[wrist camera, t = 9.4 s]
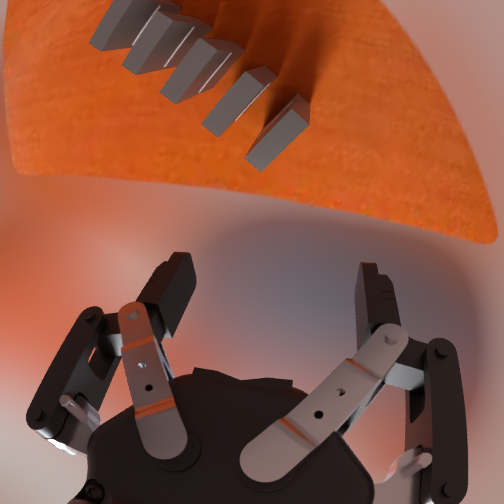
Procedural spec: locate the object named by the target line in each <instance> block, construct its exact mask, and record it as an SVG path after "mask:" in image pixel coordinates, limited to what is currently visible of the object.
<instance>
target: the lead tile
mask: <svg viewBox="0 0 504 504" xmlns="http://www.w3.org/2000/svg"><path fill="white" fill-rule="evenodd" d="M309 120H310V103H309V102H308V101H307V100H306V99H305V98H303V97H302V96H301V95H300V94H299V93H298V92H297V93H296V94H295V95H294V96H293V97H292V98H291V99H290V100H289V101H288V103H287V104H286V105H285V106H284V107H283V108H282V109H281V110H280V111H279V112H278V113H277V114H276V115H275V116H274V117H273V118H272V119H271V120H270V121H269V122H268V123H267V124H266V125H265V126H264V127H263V129H262V130H261V132H260V134H259V135H258V137H257V138H256V140H255V142H254V143H253V145H252V146H251V148H250V150H249V151H248V153H247V154H246V156H245V159H246V160H247V161H248V162H249V163H251V164H252V165H253V166H254V167H255V168H257V169H258V170H259V171H260V172H262V171H263V170H264V169H265V168H266V167H267V166H268V165H269V164H270V163H271V162H272V161H273V160H274V159H275V158H276V157H277V156H278V155H279V154H280V153H281V152H282V151H283V150H284V149H285V148H286V147H287V146H288V145H289V144H290V143H291V142H292V141H293V140H294V139H295V138H296V137H297V136H298V135H299V134H300V133H301V132H302V131H303V130H304V129H305V128H307V127H308V126H309Z"/></svg>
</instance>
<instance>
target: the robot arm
mask: <svg viewBox="0 0 504 504" xmlns="http://www.w3.org/2000/svg"><path fill="white" fill-rule="evenodd" d="M195 287H196V274H195V270H194V266H193V262H192V257H191V255H190V253H188V252H174V253H173V254H172V255H171V257H170V259H169V260H168V261H164V262H163V263H162V264H160V265H159V266H158V267H157V268H156V269H155V271H154V272H153V274H152V276H151V277H150V279H149V281H148V282H147V283H146V285H145V287H144V288H143V290H142V291H141V293H140V295H139V296H138V298H137V299H136V301H135V302H131V303H128V304H126V305H124V306H123V307H122V308H121V309H120V310H119V312H118V313H110V314H104V312H103V311H102V309H101V308H100V307H97V306H93V307H89V308H87V309H85V310H84V311H83V312H82V313H81V314H80V315H79V317H78V319H77V320H76V322H75V323H74V325H73V327H72V328H71V330H70V332H69V333H68V335H67V337H66V338H65V340H64V342H63V344H62V345H61V347H60V349H59V351H58V352H57V354H56V356H55V358H54V360H53V361H52V363H51V365H50V367H49V369H48V371H47V372H46V374H45V376H44V378H43V380H42V382H41V384H40V386H39V388H38V390H37V392H36V394H35V396H34V398H33V400H32V402H31V404H30V406H29V408H28V410H27V413H26V421H27V424H28V425H29V427H30V428H31V429H33V430H34V431H36V432H37V433H38V434H40V435H41V436H42V437H43V438H44V439H45V440H47V441H48V442H50V443H51V444H53V445H54V446H56V447H57V448H60V449H62V450H63V451H65V452H67V453H69V454H71V455H76V454H80V455H83V456H85V457H87V460H88V471H87V479H86V483H85V485H84V487H83V488H82V489H81V491H80V492H79V493H78V494H77V495H76V496H75V497H74V498H73V499H72V500H70V501H69V502H68V504H459V503H460V502H461V501H462V500H463V498H464V497H465V495H466V492H467V488H468V444H467V427H466V414H465V404H464V395H463V388H462V381H461V374H460V368H459V362H458V357H457V351H456V348H455V347H454V345H453V344H452V343H451V342H450V341H448V340H446V339H443V338H435V339H432V340H431V341H430V342H429V343H428V344H426V343H423V342H419V341H416V340H413V339H412V338H410V337H409V336H408V334H407V332H406V331H405V330H404V329H403V328H402V327H401V323H400V317H399V312H398V307H397V302H396V297H395V293H394V287H393V283H392V282H391V280H390V279H389V277H388V276H387V275H380V274H378V268H377V264H376V263H365V262H361V263H360V265H359V271H358V276H357V282H356V287H355V314H356V332H357V333H356V334H357V353H356V354H355V355H354V356H353V357H352V358H351V359H349V358H346V359H345V360H344V361H343V362H342V363H341V364H340V365H339V366H338V367H337V368H336V369H335V370H334V371H333V372H332V373H331V374H330V375H329V376H328V377H327V378H326V379H325V380H324V381H323V382H322V383H321V384H320V385H319V386H318V387H317V388H316V389H315V390H313V391H312V392H311V393H310V394H309V395H308V394H307V393H305V392H304V391H302V390H299V389H297V388H294V387H292V384H293V380H286V379H275V378H259V379H249V380H239V379H236V378H233V377H231V376H228V375H226V374H223V373H221V372H218V371H214V370H208V369H202V368H196V367H195V368H194V370H193V373H192V374H187V375H182V376H179V377H176V378H175V377H174V375H173V372H172V370H171V367H170V364H169V362H168V359H167V356H166V353H165V350H164V347H163V345H162V343H161V342H162V339H163V337H166V338H172V337H173V335H174V333H175V331H176V329H177V327H178V324H179V322H180V320H181V318H182V316H183V314H184V311H185V309H186V307H187V305H188V303H189V301H190V298H191V296H192V294H193V292H194V290H195ZM94 347H95V349H96V350H95V352H94V353H93V355H92V357H91V360H90V361H89V363H88V360H89V357H90V355H91V353H92V351H93V349H94ZM121 358H122V360H123V364H124V368H125V373H126V377H127V382H128V386H129V389H130V393H131V397H132V401H133V405H132V406H130V407H129V408H127V409H125V410H124V411H122V412H121V413H119V414H118V415H116V416H114V417H113V418H111V419H110V420H108V421H106V422H105V423H103V424H102V425H100V415H99V413H98V411H99V409H100V406H101V404H102V402H103V399H104V397H105V394H106V392H107V389H108V387H109V385H110V383H111V380H112V378H113V376H114V373H115V371H116V369H117V367H118V365H119V362H120V360H121ZM386 384H389V385H393V386H396V387H399V388H403V389H405V396H406V397H405V398H406V426H405V428H406V430H405V453H404V454H403V455H402V456H400V457H399V458H397V459H396V460H395V461H394V462H393V463H392V464H391V465H390V467H389V469H388V473H387V476H386V478H385V480H384V481H383V482H382V483H379V484H374V483H373V480H372V478H371V476H370V474H369V473H368V472H367V470H366V469H365V467H364V466H363V465H362V463H361V462H360V461H359V459H358V458H357V457H356V455H355V454H354V453H353V451H352V450H351V449H350V447H349V446H348V445H347V443H346V442H345V440H344V439H343V438H342V437H343V436H344V435H345V434H346V433H347V432H348V431H349V430H350V429H351V428H352V426H353V425H354V424H355V423H356V421H357V420H358V419H359V418H360V416H361V415H362V414H363V412H364V411H365V410H366V409H367V407H368V406H369V405H370V404H371V402H372V401H373V400H374V399H375V397H376V396H377V395H378V394H379V393H380V391H381V390H382V389H383V388H384V386H385V385H386Z"/></svg>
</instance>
